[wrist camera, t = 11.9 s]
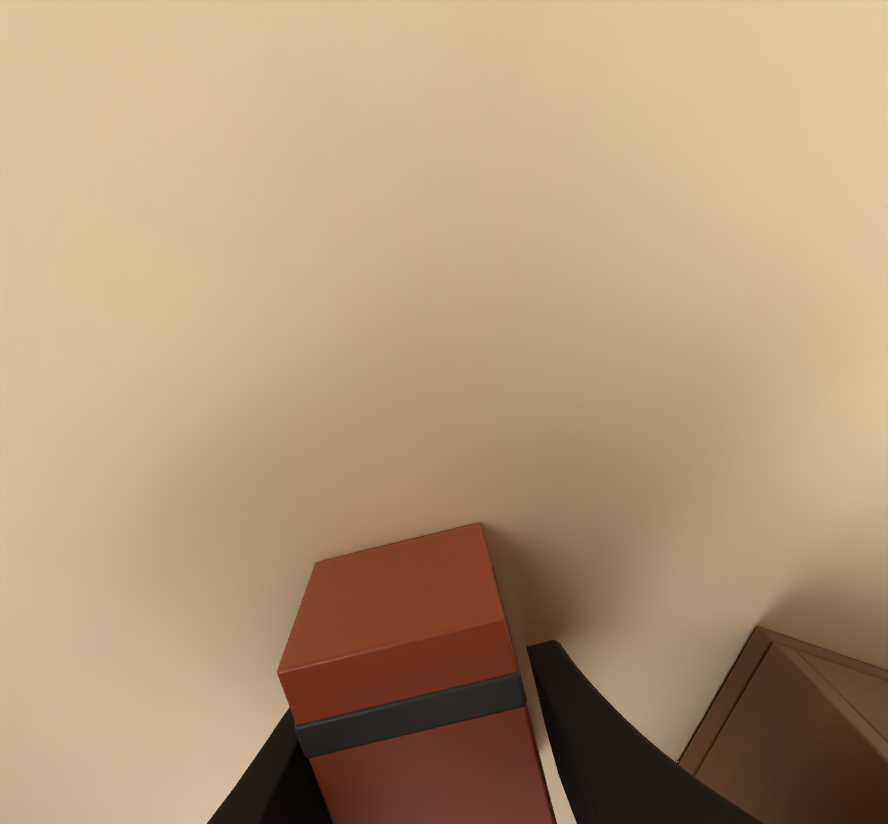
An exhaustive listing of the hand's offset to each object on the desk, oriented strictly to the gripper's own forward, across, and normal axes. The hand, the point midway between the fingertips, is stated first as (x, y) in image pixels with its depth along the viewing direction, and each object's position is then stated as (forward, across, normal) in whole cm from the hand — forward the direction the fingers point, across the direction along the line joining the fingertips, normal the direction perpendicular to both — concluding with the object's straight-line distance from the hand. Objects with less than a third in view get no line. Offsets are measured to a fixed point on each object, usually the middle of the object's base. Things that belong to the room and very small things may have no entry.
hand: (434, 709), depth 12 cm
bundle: (+1, 0, 0) cm, 1 cm away
